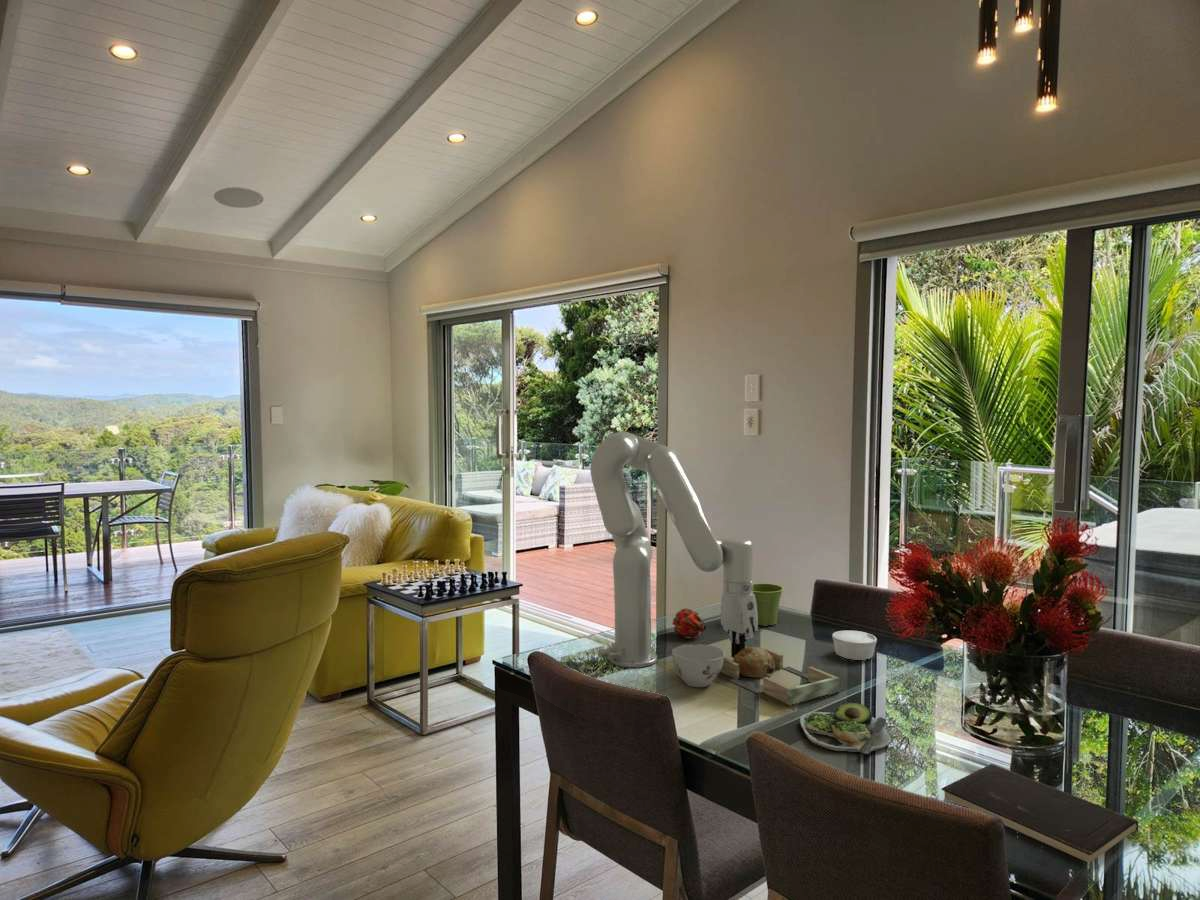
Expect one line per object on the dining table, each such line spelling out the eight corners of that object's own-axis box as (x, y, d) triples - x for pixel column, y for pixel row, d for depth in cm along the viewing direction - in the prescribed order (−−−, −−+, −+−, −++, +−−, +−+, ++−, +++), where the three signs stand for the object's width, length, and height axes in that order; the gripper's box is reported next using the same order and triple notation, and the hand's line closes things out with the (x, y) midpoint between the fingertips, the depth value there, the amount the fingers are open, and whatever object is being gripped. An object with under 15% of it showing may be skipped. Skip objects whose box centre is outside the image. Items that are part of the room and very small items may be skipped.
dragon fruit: (680, 634, 228) (699, 652, 217) (660, 621, 224) (678, 638, 213) (697, 611, 228) (716, 627, 217) (677, 597, 225) (696, 613, 214)
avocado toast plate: (909, 763, 142) (910, 739, 142) (812, 760, 144) (812, 736, 143) (881, 721, 161) (881, 699, 161) (795, 718, 163) (795, 697, 163)
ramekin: (882, 662, 197) (882, 642, 197) (839, 662, 197) (839, 642, 197) (868, 649, 208) (868, 630, 208) (827, 649, 208) (827, 630, 208)
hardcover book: (1089, 868, 110) (1090, 853, 110) (941, 801, 129) (941, 787, 129) (1138, 833, 119) (1138, 818, 118) (992, 774, 138) (993, 762, 138)
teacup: (734, 688, 180) (734, 654, 179) (688, 696, 175) (688, 662, 174) (701, 668, 194) (701, 637, 193) (658, 675, 189) (657, 643, 188)
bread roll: (756, 694, 185) (769, 668, 183) (722, 669, 190) (734, 643, 188) (773, 682, 193) (786, 657, 191) (739, 658, 198) (752, 633, 196)
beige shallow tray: (783, 707, 168) (783, 691, 168) (709, 670, 192) (709, 657, 192) (845, 691, 177) (845, 676, 177) (767, 658, 201) (767, 645, 201)
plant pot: (760, 616, 241) (760, 581, 241) (791, 624, 232) (791, 587, 232) (735, 623, 234) (736, 587, 233) (767, 631, 225) (767, 594, 224)
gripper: (768, 591, 191) (769, 663, 192) (730, 579, 204) (731, 647, 205) (745, 595, 187) (745, 668, 188) (708, 583, 200) (708, 651, 201)
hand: (738, 657), depth 197 cm, fingers closed
